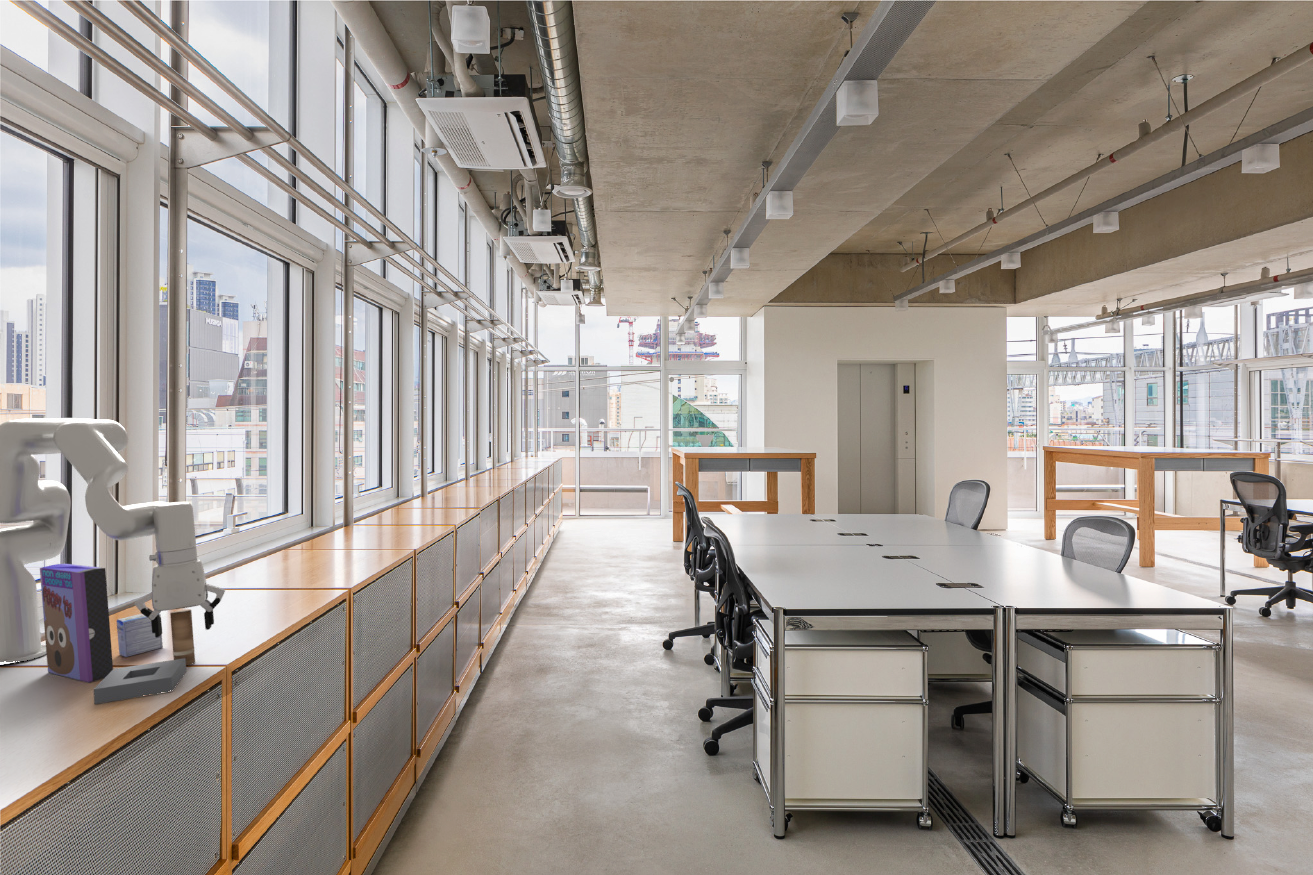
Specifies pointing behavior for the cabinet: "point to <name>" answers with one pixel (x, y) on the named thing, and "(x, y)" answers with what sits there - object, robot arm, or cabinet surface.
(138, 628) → the medicine box
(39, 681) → the cabinet surface
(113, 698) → the board
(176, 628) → the peg
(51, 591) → the cereal box
